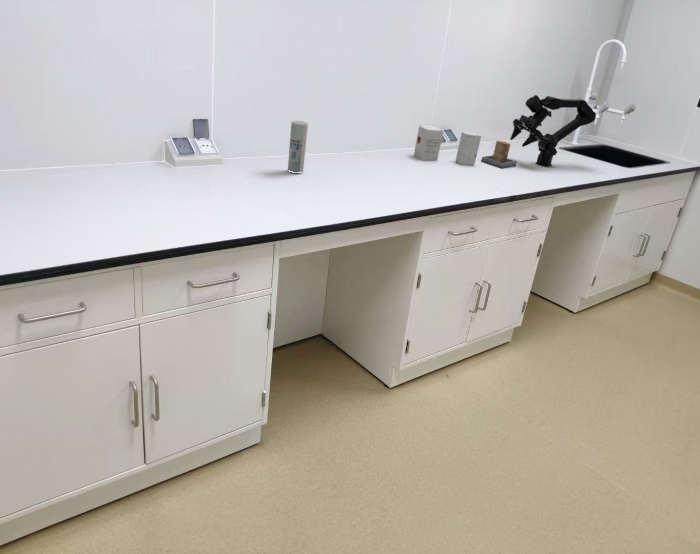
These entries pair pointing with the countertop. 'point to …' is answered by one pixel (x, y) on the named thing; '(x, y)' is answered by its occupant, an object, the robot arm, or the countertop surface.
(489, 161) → the grey tray
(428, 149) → the supplement box
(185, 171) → the countertop surface
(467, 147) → the skincare box
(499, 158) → the walnut block
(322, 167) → the countertop surface
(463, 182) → the countertop surface
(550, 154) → the robot arm
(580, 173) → the countertop surface
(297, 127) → the spray can
